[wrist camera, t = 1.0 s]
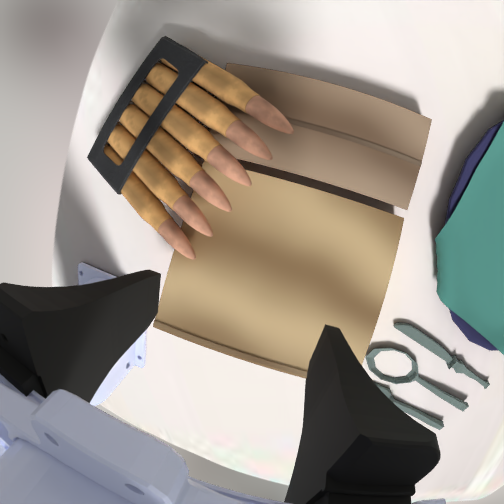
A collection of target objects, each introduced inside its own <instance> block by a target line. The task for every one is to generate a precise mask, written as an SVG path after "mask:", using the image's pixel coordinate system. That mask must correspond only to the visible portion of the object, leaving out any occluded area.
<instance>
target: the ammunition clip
mask: <svg viewBox="0 0 504 504" xmlns="http://www.w3.org/2000/svg"><path fill="white" fill-rule="evenodd" d="M173 70H175V71H176V72H178V73H176V72H175V71H173ZM191 81H193V82H194V84H193V83H192V82H191ZM206 90H207V91H209V92H210V93H212V94H213V95H215V96H216V97H218V98H219V99H221V100H222V101H224V102H225V103H227V104H230V105H232V106H235V107H237V108H239V109H240V110H242V111H243V112H245V113H247V114H249V115H251V116H252V117H253V118H255V119H256V120H258V121H260V122H261V123H263V124H265V125H267V126H269V127H271V128H273V129H276V130H278V131H281V132H284V133H288V134H293V133H294V130H293V128H292V126H291V124H290V123H289V121H288V120H287V119H286V118H285V117H284V115H283V114H282V113H281V112H280V111H279V110H278V109H277V108H275V107H274V106H273V105H272V104H271V103H269V102H268V101H266V100H265V99H263V98H262V97H261V96H260V95H259V94H257V93H256V92H254V91H253V90H252V89H251V88H250V87H249V86H248V85H247V84H246V83H244V82H243V81H242V80H240V79H239V78H237V77H235V76H234V75H232V74H230V73H229V72H227V71H225V70H224V69H222V68H220V67H218V66H217V65H215V64H213V63H211V62H210V61H208V60H206V59H204V58H202V57H200V56H199V55H197V54H195V53H194V52H192V51H190V50H189V49H187V48H185V47H184V46H182V45H180V44H179V43H177V42H175V41H173V40H172V39H170V38H168V37H166V36H165V37H162V38H161V39H160V40H159V42H158V43H157V44H156V46H155V47H154V48H153V50H152V51H151V52H150V54H149V55H148V56H147V58H146V59H145V61H144V62H143V63H142V65H141V66H140V68H139V69H138V71H137V72H136V74H135V75H134V77H133V78H132V80H131V81H130V83H129V84H128V86H127V87H126V89H125V90H124V92H123V94H122V95H121V97H120V98H119V100H118V102H117V103H116V105H115V107H114V108H113V110H112V112H111V113H110V115H109V117H108V119H107V120H106V122H105V124H104V126H103V128H102V129H101V131H100V133H99V135H98V137H97V139H96V141H95V143H94V145H93V147H92V149H91V151H90V153H89V155H88V157H87V158H88V160H89V161H90V162H91V163H92V164H93V166H94V167H95V168H96V169H97V170H98V172H99V173H100V174H101V175H102V176H103V178H104V179H105V180H106V181H107V182H108V183H109V185H110V186H111V187H112V188H113V189H114V190H115V192H116V193H117V194H123V196H124V197H125V198H126V199H127V201H128V202H129V203H130V204H131V205H132V207H133V208H134V209H135V210H136V212H137V213H138V214H139V215H140V216H141V217H142V218H143V219H144V220H145V221H146V222H147V223H149V224H150V225H151V226H152V227H153V228H154V229H155V230H156V231H157V232H158V233H159V234H160V235H161V236H162V237H163V238H164V239H165V240H166V241H167V242H168V243H169V244H170V245H171V246H172V247H173V248H174V249H175V250H177V251H178V252H179V253H181V254H182V255H184V256H186V257H187V258H190V259H192V260H195V259H196V255H195V252H194V249H193V247H192V245H191V243H190V242H189V240H188V238H187V237H186V235H185V234H184V232H183V231H182V230H181V228H180V227H179V226H178V225H177V224H176V223H175V221H174V220H173V218H172V217H171V216H170V215H169V213H168V212H167V211H166V209H165V207H164V205H163V204H162V202H161V201H160V200H162V201H163V202H165V203H166V204H167V205H168V206H169V207H170V208H171V209H172V210H173V211H175V212H176V213H177V214H178V215H179V216H180V217H181V218H182V219H183V220H184V221H185V222H186V223H187V224H189V225H190V226H191V227H192V228H194V229H195V230H197V231H199V232H200V233H202V234H204V235H207V236H210V237H212V236H213V231H212V228H211V226H210V224H209V222H208V221H207V219H206V217H205V216H204V214H203V213H202V211H201V210H200V209H199V207H198V206H197V205H196V204H195V203H194V202H193V201H192V199H191V198H190V197H189V196H188V194H187V193H186V192H185V191H184V190H183V189H182V188H181V186H180V185H179V183H178V181H177V180H176V178H175V177H174V176H173V175H172V174H174V175H175V176H177V177H179V178H180V179H182V180H183V181H184V182H185V183H186V184H187V185H188V186H190V187H191V188H192V189H194V190H195V191H196V192H197V193H198V194H199V195H200V196H201V197H203V198H204V199H205V200H207V201H208V202H209V203H211V204H213V205H214V206H216V207H218V208H220V209H222V210H224V211H228V212H231V211H232V207H231V204H230V202H229V200H228V198H227V196H226V195H225V193H224V192H223V190H222V189H221V188H220V186H219V185H218V184H217V183H216V182H215V181H214V179H213V178H212V177H210V176H209V175H208V174H207V173H206V172H205V170H204V169H203V168H202V167H201V166H200V165H199V164H198V163H197V161H196V160H195V158H194V157H193V156H192V154H191V153H190V152H189V151H188V150H190V151H191V152H193V153H195V154H197V155H199V156H200V157H202V158H203V159H204V160H205V161H207V162H208V163H210V164H211V165H212V166H213V167H214V168H216V169H217V170H218V171H220V172H221V173H222V174H224V175H225V176H227V177H228V178H230V179H232V180H234V181H236V182H238V183H240V184H242V185H245V186H251V185H252V182H251V179H250V177H249V175H248V174H247V172H246V171H245V169H244V168H243V166H242V165H241V164H240V163H239V161H238V160H237V159H236V158H235V157H234V156H233V155H232V154H231V153H230V152H228V151H227V150H226V149H225V148H224V147H223V146H222V145H221V144H220V143H219V142H218V141H217V140H216V139H215V138H214V137H213V136H212V134H211V133H210V132H209V131H208V130H207V129H206V128H205V127H204V126H203V125H201V124H200V123H199V122H198V121H196V120H195V119H194V118H193V117H191V116H190V115H189V113H190V114H191V115H193V116H194V117H195V118H197V119H198V120H199V121H201V122H202V123H203V124H205V125H206V126H207V127H209V128H211V129H213V130H215V131H218V132H219V133H221V134H222V135H223V136H225V137H226V138H228V139H230V140H231V141H232V142H234V143H235V144H236V145H238V146H239V147H241V148H242V149H244V150H246V151H247V152H249V153H251V154H253V155H255V156H257V157H260V158H263V159H266V160H272V159H273V157H272V154H271V152H270V150H269V149H268V147H267V146H266V144H265V143H264V142H263V141H262V139H261V138H260V137H259V136H258V135H257V134H256V133H255V132H254V131H253V130H252V129H251V128H249V127H248V126H247V125H246V124H244V123H243V122H242V121H241V120H240V119H239V118H238V117H236V116H235V115H234V114H233V113H232V112H231V111H230V110H229V109H228V108H227V107H226V106H225V105H224V104H223V103H222V102H220V101H219V100H217V99H216V98H214V97H213V96H211V95H210V94H209V93H207V92H206ZM159 91H160V92H161V93H163V94H164V95H163V94H161V93H160V92H159ZM175 103H177V104H178V105H179V107H178V106H177V105H176V104H175ZM147 114H148V115H149V116H148V115H147ZM160 125H161V126H162V127H163V128H164V129H163V128H162V127H161V126H160ZM173 137H174V138H176V139H177V140H178V141H179V142H180V143H181V144H182V145H184V146H185V147H186V148H187V149H188V150H186V149H185V148H184V147H183V146H182V145H181V144H180V143H179V142H178V141H176V140H175V139H174V138H173ZM146 148H147V149H148V150H149V151H148V150H147V149H146ZM158 160H159V161H160V162H161V163H162V164H163V165H164V166H165V167H166V168H167V169H168V170H169V171H170V172H171V173H172V174H171V173H170V172H169V171H168V170H167V169H166V168H165V167H164V166H163V165H162V164H161V163H160V162H159V161H158ZM159 199H160V200H159Z"/></svg>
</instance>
